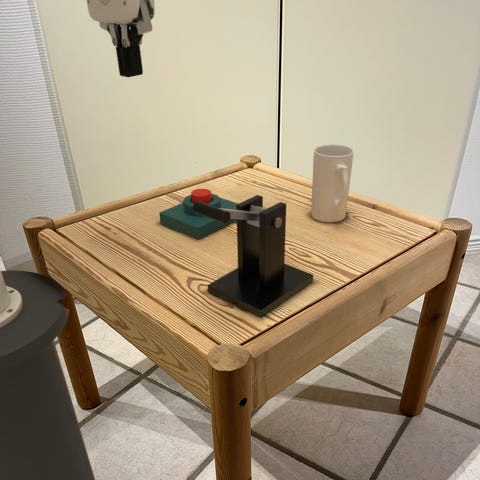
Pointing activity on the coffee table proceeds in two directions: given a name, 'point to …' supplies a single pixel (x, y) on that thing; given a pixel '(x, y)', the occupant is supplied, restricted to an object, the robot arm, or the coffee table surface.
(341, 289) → the coffee table surface
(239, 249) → the bracket
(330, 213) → the mug
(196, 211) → the lever
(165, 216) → the button box
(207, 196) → the button
